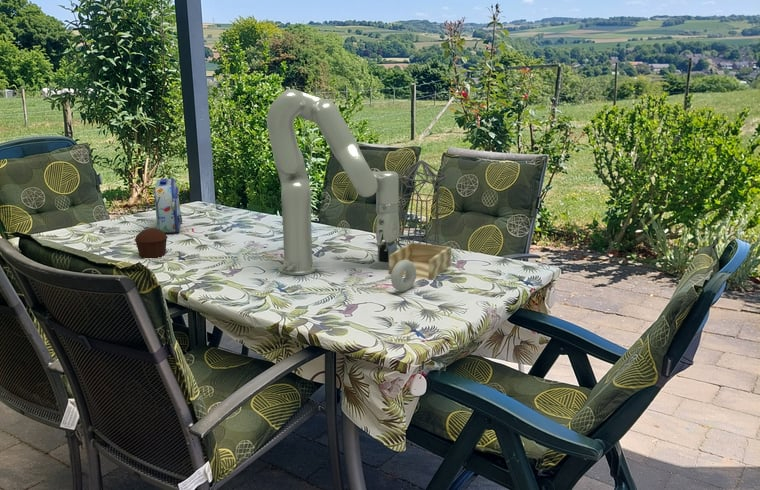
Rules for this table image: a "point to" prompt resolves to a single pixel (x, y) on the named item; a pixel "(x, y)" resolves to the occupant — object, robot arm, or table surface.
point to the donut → (398, 272)
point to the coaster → (381, 266)
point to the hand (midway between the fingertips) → (387, 259)
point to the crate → (423, 259)
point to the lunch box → (167, 206)
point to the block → (389, 249)
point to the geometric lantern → (430, 173)
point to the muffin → (151, 243)
